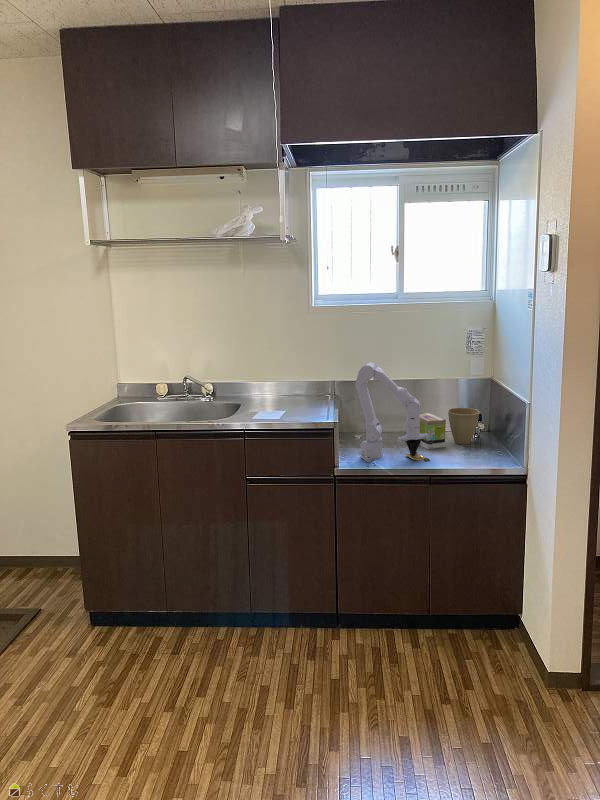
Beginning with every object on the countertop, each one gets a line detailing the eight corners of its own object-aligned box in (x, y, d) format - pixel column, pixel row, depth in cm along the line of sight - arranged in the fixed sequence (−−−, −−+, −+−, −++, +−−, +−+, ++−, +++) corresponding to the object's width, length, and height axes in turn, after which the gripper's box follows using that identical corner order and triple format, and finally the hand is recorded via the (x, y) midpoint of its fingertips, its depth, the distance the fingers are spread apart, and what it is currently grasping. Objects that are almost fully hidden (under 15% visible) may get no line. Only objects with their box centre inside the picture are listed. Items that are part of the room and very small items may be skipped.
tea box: (445, 449, 289) (446, 419, 286) (427, 451, 286) (427, 421, 283) (429, 440, 303) (430, 412, 300) (411, 443, 300) (412, 414, 297)
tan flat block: (413, 459, 269) (414, 456, 268) (404, 454, 276) (405, 450, 276) (426, 462, 271) (427, 458, 271) (417, 456, 279) (418, 453, 279)
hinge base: (425, 464, 269) (425, 458, 268) (411, 456, 280) (411, 451, 279) (443, 461, 272) (443, 456, 271) (429, 453, 283) (429, 448, 282)
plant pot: (477, 447, 289) (479, 415, 286) (445, 445, 294) (446, 413, 290) (478, 439, 303) (480, 408, 299) (448, 437, 307) (449, 406, 304)
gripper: (402, 430, 264) (402, 460, 267) (432, 426, 268) (431, 455, 271) (395, 426, 270) (395, 455, 273) (423, 422, 275) (423, 451, 278)
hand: (412, 455), depth 273 cm, fingers closed
